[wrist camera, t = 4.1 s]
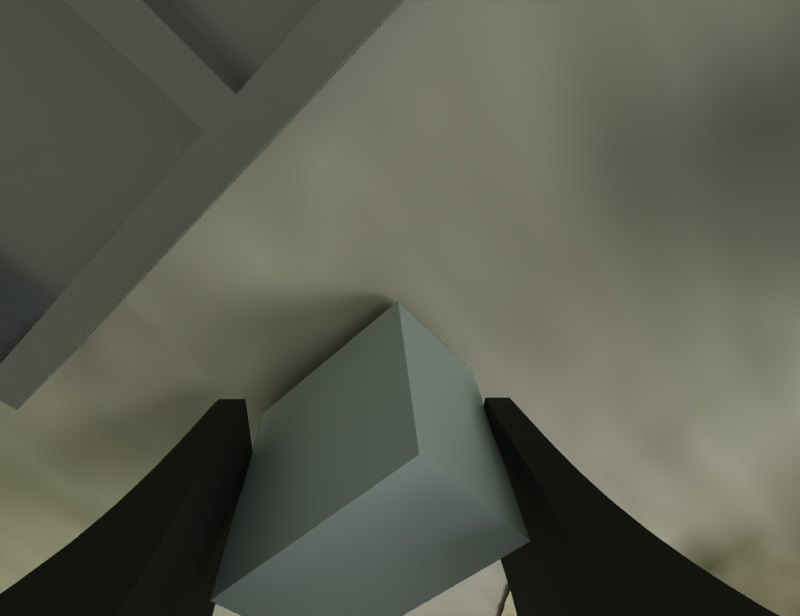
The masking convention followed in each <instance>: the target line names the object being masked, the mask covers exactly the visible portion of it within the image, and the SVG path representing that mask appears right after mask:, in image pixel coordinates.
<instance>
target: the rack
mask: <svg viewBox="0 0 800 616" xmlns="http://www.w3.org/2000/svg"><path fill="white" fill-rule="evenodd" d="M402 2H403V0H0V400H1V401H2V402H4V403H6V404H8V405H10V406H11V407H13V408H15V409H18V408H19V407H20V406H21V405H22V404H23V403H24V402H25V401H26V400H27V399H28V398H29V397H30V396H31V395H32V394H33V393H34V392H35V391H36V390H37V389H38V388H39V387H40V386H41V385H42V384H43V383H44V382H45V381H46V380H47V379H48V378H49V377H50V376H51V375H52V374H53V373H54V372H55V370H56V369H57V368H58V367H59V366H60V365H61V364H62V363H63V362H64V361H65V360H66V359H67V358H68V357H69V356H70V355H71V354H72V353H73V352H74V351H75V350H76V349H77V348H78V347H79V346H80V345H81V343H82V342H83V341H84V340H85V339H86V338H87V337H88V336H89V335H90V334H91V333H92V332H93V331H94V330H95V329H96V327H97V326H98V325H99V324H100V323H101V322H102V321H103V320H104V319H105V318H106V317H107V316H108V315H109V314H110V313H111V312H112V310H113V309H114V308H115V307H116V306H117V305H118V304H119V303H120V302H121V301H122V300H123V299H124V298H125V297H126V296H127V294H128V293H129V292H130V291H131V290H132V289H133V288H134V287H135V286H136V285H137V284H138V283H139V282H140V281H141V280H142V278H143V277H144V276H145V275H146V274H147V273H148V272H149V271H150V270H151V269H152V268H153V267H154V266H155V265H156V264H157V263H158V261H159V260H160V259H161V258H162V257H163V256H164V255H165V254H166V253H167V252H168V251H169V250H170V249H171V248H172V247H173V245H174V244H175V243H176V242H177V241H178V240H179V239H180V238H181V237H182V236H183V235H184V234H185V233H186V232H187V231H188V229H189V228H190V227H191V226H192V225H193V224H194V223H195V222H196V221H197V220H198V219H199V218H200V217H201V216H202V215H203V214H204V212H205V211H206V210H207V209H208V208H209V207H210V206H211V205H212V204H213V203H214V202H215V201H216V200H217V199H218V198H219V196H220V195H221V194H222V193H223V192H224V191H225V190H226V189H227V188H228V187H229V186H230V185H231V184H232V183H233V182H234V180H235V179H236V178H237V177H238V176H239V175H240V174H241V173H242V172H243V171H244V170H245V169H246V168H247V167H248V166H249V165H250V163H251V162H252V161H253V160H254V159H255V158H256V157H257V156H258V155H259V154H260V153H261V152H262V151H263V150H264V149H265V147H266V146H267V145H268V144H269V143H270V142H271V141H272V140H273V139H274V138H275V137H276V136H277V135H278V134H279V133H280V131H281V130H282V129H283V128H284V127H285V126H286V125H287V124H288V123H289V122H290V121H291V120H292V119H293V118H294V117H295V115H296V114H297V113H298V112H299V111H300V110H301V109H302V108H303V107H304V106H305V105H306V104H307V103H308V102H309V101H310V100H311V98H312V97H313V96H314V95H315V94H316V93H317V92H318V91H319V90H320V89H321V88H322V87H323V86H324V85H325V84H326V82H327V81H328V80H329V79H330V78H331V77H332V76H333V75H334V74H335V73H336V72H337V71H338V70H339V69H340V68H341V66H342V65H343V64H344V63H345V62H346V61H347V60H348V59H349V58H350V57H351V56H352V55H353V54H354V53H355V52H356V51H357V49H358V48H359V47H360V46H361V45H362V44H363V43H364V42H365V41H366V40H367V39H368V38H369V37H370V36H371V35H372V33H373V32H374V31H375V30H376V29H377V28H378V27H379V26H380V25H381V24H382V23H383V22H384V21H385V20H386V19H387V17H388V16H389V15H390V14H391V13H392V12H393V11H394V10H395V9H396V8H397V7H398V6H399V5H400V4H401V3H402Z"/></svg>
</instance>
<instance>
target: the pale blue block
mask: <svg viewBox="0 0 800 616" xmlns="http://www.w3.org/2000/svg"><path fill="white" fill-rule="evenodd" d="M252 452H253V453H252V456H251V460H250V464H249V467H248V471H247V474H246V478H245V481H244V485H243V488H242V491H241V494H240V496H239V499H238V503H237V506H236V510H235V513H234V517H233V520H232V524H231V528H230V531H229V535H228V538H227V542H226V545H225V549H224V552H223V556H222V560H221V563H220V567H219V570H218V574H217V577H216V581H215V584H214V588H213V591H212V595H211V599H210V601H211V602H214V603H216V604H218V605H220V606H222V607H224V608H227V609H229V610H231V611H233V612H235V613H237V614H239V615H242V616H403V615H404V614H406V613H408V612H410V611H411V610H413V609H415V608H416V607H418V606H420V605H422V604H423V603H425V602H427V601H428V600H430V599H432V598H434V597H435V596H437V595H439V594H441V593H442V592H444V591H446V590H447V589H449V588H451V587H453V586H454V585H456V584H458V583H459V582H461V581H463V580H465V579H466V578H468V577H470V576H472V575H473V574H475V573H477V572H478V571H480V570H482V569H484V568H485V567H487V566H489V565H490V564H492V563H494V562H496V561H497V560H499V559H501V558H503V557H504V556H506V555H508V554H509V553H511V552H513V551H515V550H516V549H518V548H520V547H521V546H523V545H525V544H527V543H528V542H530V538H529V535H528V532H527V529H526V527H525V524H524V521H523V518H522V515H521V512H520V509H519V506H518V503H517V500H516V497H515V494H514V492H513V489H512V486H511V483H510V480H509V477H508V474H507V471H506V468H505V465H504V462H503V459H502V456H501V454H500V451H499V448H498V446H497V443H496V441H495V438H494V436H493V433H492V430H491V427H490V424H489V421H488V418H487V415H486V412H485V409H484V404H483V401H482V398H481V395H480V392H479V389H478V386H477V383H476V380H475V378H474V375H473V372H472V371H471V370H470V369H469V368H468V367H467V366H466V365H465V364H464V363H463V362H462V361H461V360H460V359H459V358H458V357H456V356H455V355H454V354H453V353H452V352H451V351H450V350H449V349H448V348H447V347H446V346H445V345H444V344H443V343H442V342H441V341H440V340H439V339H438V338H437V337H436V336H434V335H433V334H432V333H431V332H430V331H429V330H428V329H427V328H426V327H425V326H424V325H423V324H422V323H421V322H420V321H419V320H418V319H417V318H416V317H415V316H413V315H412V314H411V313H410V312H409V311H408V310H407V309H406V308H405V307H404V306H403V305H402V304H401V303H400V302H399V301H397V302H396V303H395V304H394V305H392V306H391V307H390V308H389V309H388V310H386V311H385V312H384V313H383V314H382V315H380V316H379V317H378V318H377V319H376V320H374V321H373V322H372V323H371V324H370V325H368V326H367V327H366V328H365V329H363V330H362V331H361V332H360V333H359V334H357V335H356V336H355V337H354V338H353V339H351V340H350V341H349V342H348V343H347V344H345V345H344V346H343V347H342V348H341V349H339V350H338V351H337V352H336V353H335V354H333V355H332V356H331V357H330V358H329V359H327V360H326V361H325V362H324V363H323V364H321V365H320V366H319V367H318V368H317V369H315V370H314V371H313V372H312V373H311V374H309V375H308V376H307V377H306V378H305V379H303V380H302V381H301V382H300V383H299V384H297V385H296V386H295V387H294V388H293V389H291V390H290V391H289V392H288V393H287V394H285V395H284V396H283V397H282V398H281V399H279V400H278V401H277V402H276V403H275V404H273V405H272V406H271V407H270V408H269V409H267V410H266V411H265V412H264V413H263V414H262V418H261V421H260V425H259V428H258V432H257V435H256V439H255V442H254V446H253V450H252Z"/></svg>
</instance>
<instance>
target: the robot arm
mask: <svg viewBox="0 0 800 616" xmlns="http://www.w3.org/2000/svg"><path fill="white" fill-rule="evenodd" d="M484 409H485V412H486V415H487V418H488V421H489V424H490V427H491V430H492V433H493V436H494V438H495V441H496V443H497V446H498V448H499V451H500V454H501V456H502V459H503V462H504V465H505V468H506V471H507V474H508V477H509V480H510V483H511V486H512V489H513V492H514V494H515V497H516V500H517V503H518V506H519V509H520V512H521V515H522V518H523V521H524V524H525V527H526V529H527V532H528V535H529V538H530V542H528V543H527V544H525V545H523V546H521V547H520V548H518V549H516V550H515V551H513V552H511V553H509V554H508V555H506V556H504V557H503V558H501V562H502V565H503V568H504V571H505V575H506V578H507V581H508V584H509V587H510V591H511V595H512V598H513V602H514V606H515V609H516V614H517V616H779V615H777V614H775V613H773V612H771V611H770V610H768V609H766V608H764V607H763V606H761V605H759V604H758V603H756V602H754V601H753V600H751V599H749V598H748V597H746V596H745V595H743V594H741V593H740V592H738V591H737V590H735V589H733V588H732V587H730V586H728V585H727V584H725V583H724V582H722V581H720V580H719V579H717V578H716V577H714V576H713V575H711V574H710V573H708V572H707V571H705V570H704V569H702V568H701V567H699V566H698V565H696V564H695V563H693V562H692V561H690V560H689V559H687V558H686V557H685V556H683V555H682V554H680V553H679V552H678V551H676V550H675V549H673V548H672V547H670V546H669V545H668V544H666V543H665V542H663V541H662V540H661V539H659V538H658V537H657V536H655V535H654V534H653V533H651V532H650V531H649V530H647V529H646V528H645V527H643V526H642V525H641V524H640V523H638V522H637V521H636V520H635V519H633V518H632V517H631V516H630V515H628V514H627V513H626V512H625V511H624V510H622V509H621V508H620V507H619V506H617V505H616V504H615V503H614V502H613V501H611V500H610V499H609V498H608V497H607V496H606V495H604V494H603V493H602V492H601V491H600V490H599V489H598V488H597V487H596V486H595V485H593V484H592V483H591V482H590V481H589V480H588V479H587V478H586V477H585V476H584V475H583V474H581V473H580V472H579V471H578V470H577V469H576V468H575V467H574V466H573V465H572V464H571V463H570V462H569V461H568V460H567V459H566V458H565V457H564V456H563V455H562V454H561V453H560V452H559V451H558V450H557V449H556V448H555V447H554V446H553V444H552V443H551V442H550V441H549V440H548V439H547V438H546V437H545V436H544V435H543V434H542V433H541V432H540V431H539V429H538V428H537V427H536V426H535V425H534V424H533V423H532V422H531V421H530V420H529V419H528V417H527V416H526V415H525V414H524V413H523V412H522V411H521V410H520V409H519V408H518V406H517V405H516V404H515V403H514V402H513V401H512V400H511V399H510V398H485V402H484ZM252 453H253V452H252V444H251V437H250V430H249V422H248V415H247V408H246V401H245V399H219V400H218V401H217V402H215V403H214V404H213V406H212V407H211V408H210V409H209V410H208V411H207V412H206V413H205V414H204V416H203V417H202V418H201V419H200V420H199V421H198V422H197V423H196V424H195V425H194V427H193V428H192V429H191V430H190V431H189V432H188V433H187V434H186V435H185V436H184V437H183V439H182V440H181V441H180V442H179V443H178V444H177V445H176V446H175V447H174V448H173V449H172V450H171V451H170V452H169V453H168V454H167V455H166V456H165V457H164V458H163V459H162V460H161V462H160V463H159V464H158V465H157V466H156V467H155V468H154V469H153V470H152V471H151V472H150V473H149V474H148V475H146V476H145V477H144V478H143V479H142V480H141V481H140V482H139V483H138V484H137V485H136V486H135V487H134V488H133V489H132V490H131V491H130V492H129V493H127V494H126V495H125V496H124V497H123V498H122V499H121V500H120V501H119V502H118V503H117V504H116V505H114V506H113V507H112V508H111V509H110V510H109V511H108V512H107V513H105V514H104V515H103V516H102V517H101V518H100V519H98V520H97V521H96V522H95V523H94V524H92V525H91V526H90V527H89V528H88V529H86V530H85V531H84V532H83V533H82V534H80V535H79V536H78V537H77V538H76V539H74V540H73V541H72V542H71V543H69V544H68V545H67V546H65V547H64V548H63V549H61V550H60V551H59V552H57V553H56V554H55V555H53V556H52V557H51V558H49V559H48V560H47V561H45V562H44V563H42V564H41V565H40V566H38V567H37V568H36V569H34V570H33V571H32V572H30V573H29V574H27V575H26V576H25V577H23V578H22V579H21V580H19V581H18V582H17V583H15V584H14V585H12V586H11V587H10V588H8V589H7V590H5V591H4V592H2V593H1V594H0V616H212V614H213V610H214V607H215V603H214V602H211V601H210V599H211V595H212V591H213V588H214V584H215V581H216V577H217V574H218V570H219V567H220V563H221V560H222V556H223V552H224V549H225V545H226V542H227V538H228V535H229V531H230V528H231V524H232V520H233V517H234V513H235V510H236V506H237V503H238V499H239V496H240V494H241V491H242V488H243V485H244V481H245V478H246V474H247V471H248V467H249V464H250V460H251V456H252Z"/></svg>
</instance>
